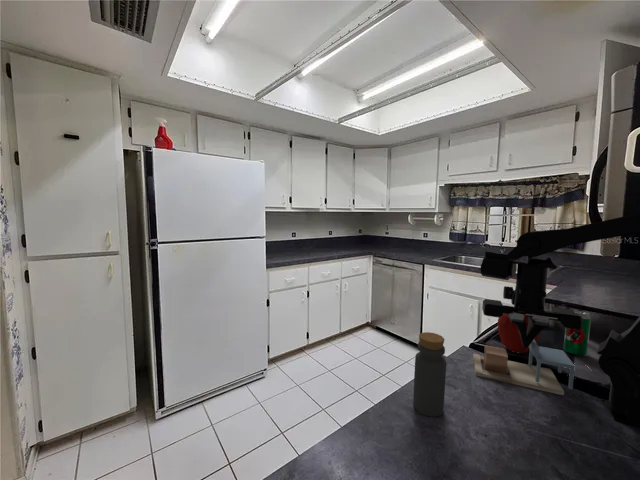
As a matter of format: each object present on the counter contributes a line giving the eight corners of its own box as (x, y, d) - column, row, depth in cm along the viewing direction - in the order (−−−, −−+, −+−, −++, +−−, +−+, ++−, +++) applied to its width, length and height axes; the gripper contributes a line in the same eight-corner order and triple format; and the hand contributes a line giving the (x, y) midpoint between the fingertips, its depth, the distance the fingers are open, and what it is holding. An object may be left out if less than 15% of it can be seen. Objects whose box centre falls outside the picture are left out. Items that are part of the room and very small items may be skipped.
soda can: (591, 358, 78) (596, 316, 77) (570, 356, 79) (574, 314, 78) (578, 349, 83) (583, 310, 81) (559, 347, 84) (563, 308, 82)
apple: (536, 364, 74) (541, 313, 73) (492, 351, 81) (496, 304, 80) (539, 350, 82) (544, 304, 81) (499, 339, 89) (503, 296, 87)
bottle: (407, 401, 59) (410, 333, 58) (429, 395, 61) (432, 329, 60) (426, 420, 54) (430, 345, 52) (450, 413, 56) (454, 341, 54)
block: (506, 376, 68) (507, 356, 68) (485, 371, 70) (486, 352, 70) (503, 367, 72) (505, 348, 72) (483, 363, 74) (484, 345, 74)
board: (563, 396, 62) (564, 391, 61) (475, 375, 69) (475, 372, 69) (550, 372, 70) (550, 368, 70) (473, 357, 78) (473, 353, 78)
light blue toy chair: (572, 389, 62) (576, 355, 61) (532, 381, 65) (535, 348, 64) (560, 371, 69) (563, 340, 68) (525, 364, 72) (528, 335, 71)
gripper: (569, 281, 70) (562, 341, 71) (482, 273, 78) (478, 327, 79) (587, 292, 60) (580, 362, 61) (486, 282, 68) (481, 344, 69)
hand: (525, 347), depth 68 cm, fingers closed
